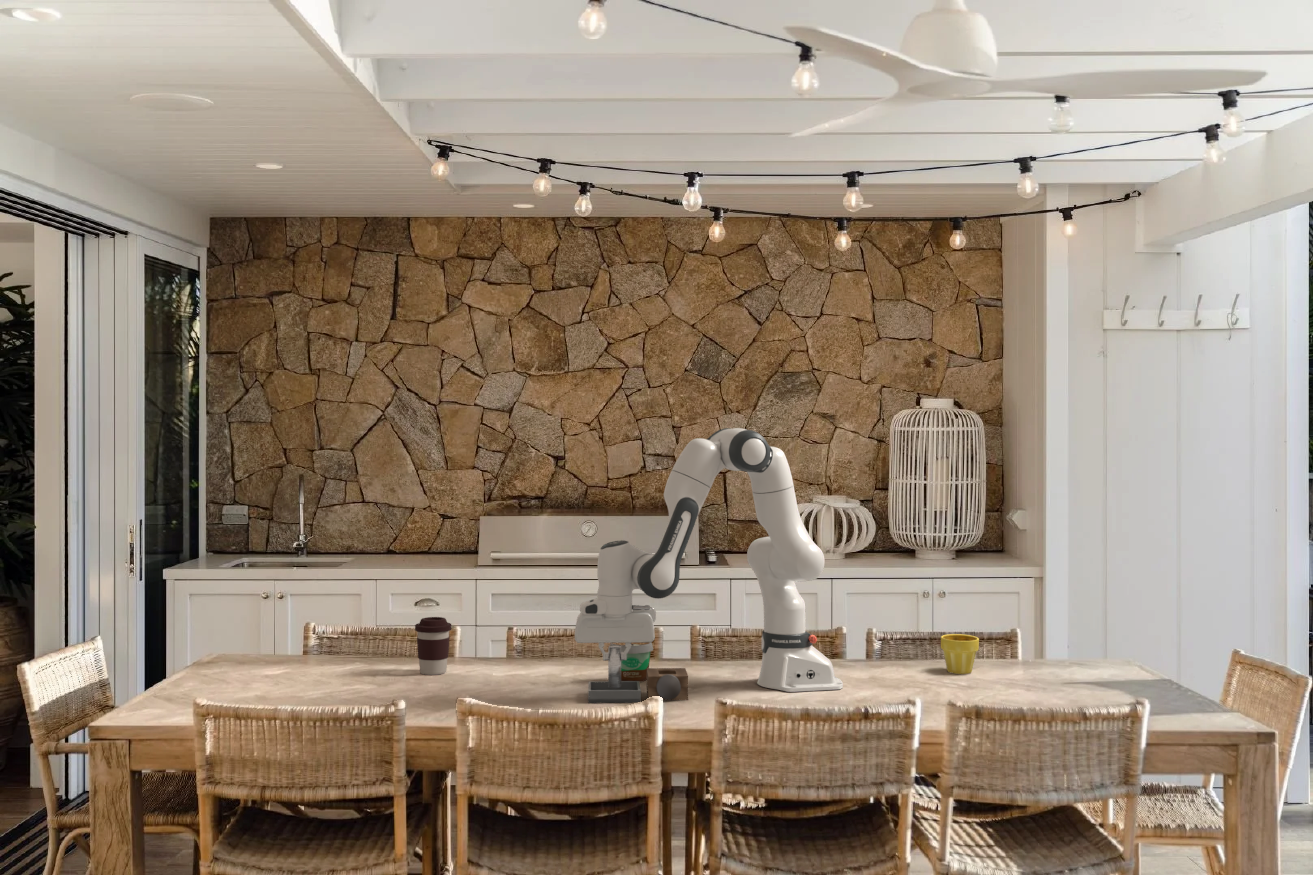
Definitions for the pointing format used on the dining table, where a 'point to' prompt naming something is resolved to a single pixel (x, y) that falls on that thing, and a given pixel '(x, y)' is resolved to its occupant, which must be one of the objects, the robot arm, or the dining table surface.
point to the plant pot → (959, 652)
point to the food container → (635, 662)
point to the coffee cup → (433, 645)
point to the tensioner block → (667, 683)
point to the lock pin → (614, 667)
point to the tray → (614, 692)
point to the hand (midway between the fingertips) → (614, 660)
